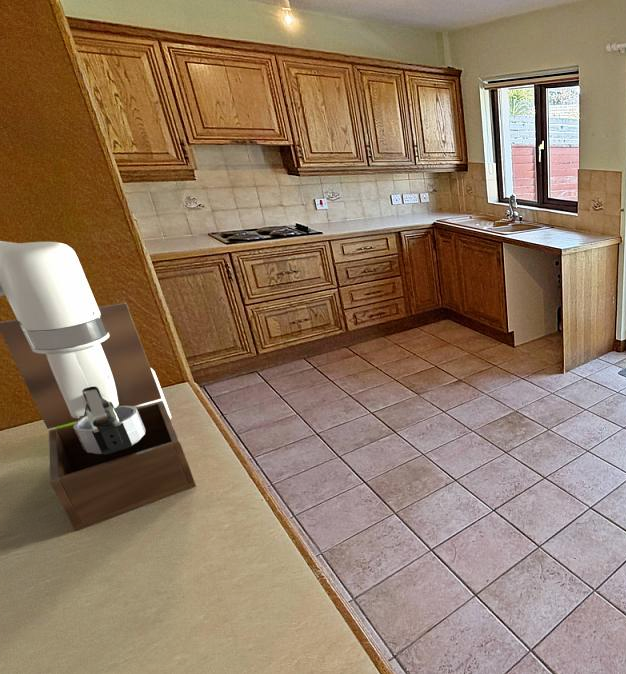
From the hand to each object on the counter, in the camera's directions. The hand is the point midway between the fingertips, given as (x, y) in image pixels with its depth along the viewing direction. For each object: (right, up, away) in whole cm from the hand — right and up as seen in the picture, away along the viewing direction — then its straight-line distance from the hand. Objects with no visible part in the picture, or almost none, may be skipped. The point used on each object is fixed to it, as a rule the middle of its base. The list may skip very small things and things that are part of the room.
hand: (115, 438), depth 73 cm
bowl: (0, -1, 0) cm, 1 cm away
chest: (-2, -8, +5) cm, 9 cm away
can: (-12, -1, +19) cm, 22 cm away
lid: (-7, +11, +3) cm, 13 cm away
